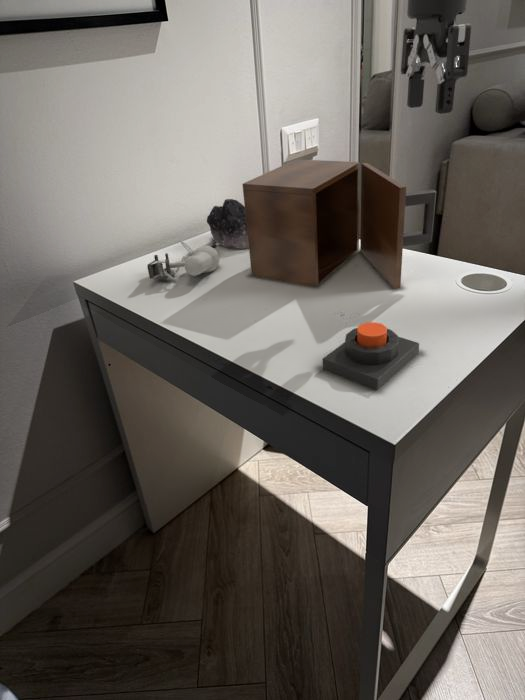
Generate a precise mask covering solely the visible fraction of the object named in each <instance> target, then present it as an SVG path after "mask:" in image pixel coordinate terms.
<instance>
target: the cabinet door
mask: <svg viewBox="0 0 525 700" xmlns="http://www.w3.org/2000/svg"><path fill="white" fill-rule="evenodd" d="M436 201H437V190H436V189H425V190H419V191H410V192H407V186H406V185H404V184H402V183H401V182H399V181H397V180H396V179H394V178H393V177H390V176H389V175H388V174H386V173H385V172H383V171H381V170H380V169H378V168H377V167H374V166H373V165H371V164H369V163H368V162H362V163H360V235H359V251H360V253H361V254H362V255H363V256H364V257H365V258H366V259H367V260H368V261H369V263H370V264H371V265H372V266H373V267H374V268H375V269H376V270H377V272H378V273H379V274H380V275H381V276H382V277H383V279H384V280H386V282H388V284H389V285H390V287H392V289H394V290H397V289H401V286H402V285H401V283H402V270H403V269H402V265H403V250H404V247H409V246H416V245H423V244H425V245H426V244H430V243H432V242H433V234H434V224H435V223H434V222H435V212H436ZM418 205H424V206H423V218H422V230H418V231H411V232H410V231H409V232H405V215H406V207H411V206H418Z"/></svg>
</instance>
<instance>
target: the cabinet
mask: <svg viewBox="0 0 525 700" xmlns="http://www.w3.org/2000/svg"><path fill="white" fill-rule="evenodd" d="M242 193H243V205H244V206H245V214H246V224H247V233H248V243H249V248H248V249H249V250H248V253H249V261H250V262H249V263H250V271H251V277H256V278H262V279H267V280H272V281H278V282H284V283H290V284H296V285H301V286H307V287H313V288H317V287H319V285H321V284H322V283H323V282H324V281H325V280H326V279H327V278H329V277H330V276H331V275H333V273H335V272H336V271H337V270H338V269H339V268H341V266H343V265H344V264H345V263H346V262H347V261H349V260H350V259H351V258H352V257H353V256H355V255H356V254H357V253H358V252H359V251H360V199H361V162H360V161H346V160H345V161H344V160H343V161H342V160H341V161H340V160H321V159H320V160H319V159H318V160H317V159H293V160H292V161H289V162H287V163H285V164H282V165H280V166H279V167H276V168H274V169H272V170H269V171H267V172H266V173H265V172H264V173H263V174H261V175H258V176H256V177H254V178H252V179H250V180H248V181H246V182H244V183H242Z"/></svg>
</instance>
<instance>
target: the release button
mask: <svg viewBox="0 0 525 700" xmlns="http://www.w3.org/2000/svg"><path fill="white" fill-rule="evenodd" d="M356 328H357V342H358V344H359V345H362V346H365V347H380V346H384V345H385V344H386V340H387V329H388V328H387V326H385V325H384V324H382V323H379V322H373V321H371V322H370V321H369V322H364V323H361V324H360V325H358V327H356Z"/></svg>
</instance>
